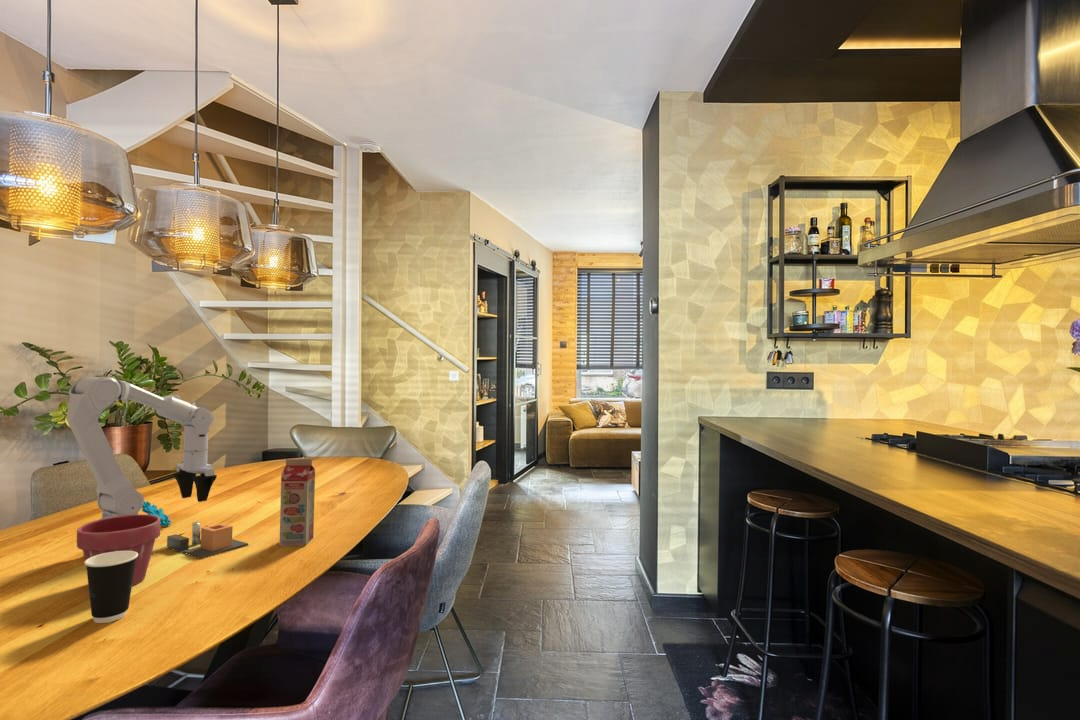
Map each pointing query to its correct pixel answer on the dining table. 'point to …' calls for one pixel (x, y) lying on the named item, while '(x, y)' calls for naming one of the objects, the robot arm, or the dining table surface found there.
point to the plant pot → (121, 538)
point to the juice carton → (297, 503)
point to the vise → (184, 539)
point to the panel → (205, 553)
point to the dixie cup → (110, 584)
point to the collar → (216, 537)
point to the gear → (156, 513)
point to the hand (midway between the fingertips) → (194, 499)
